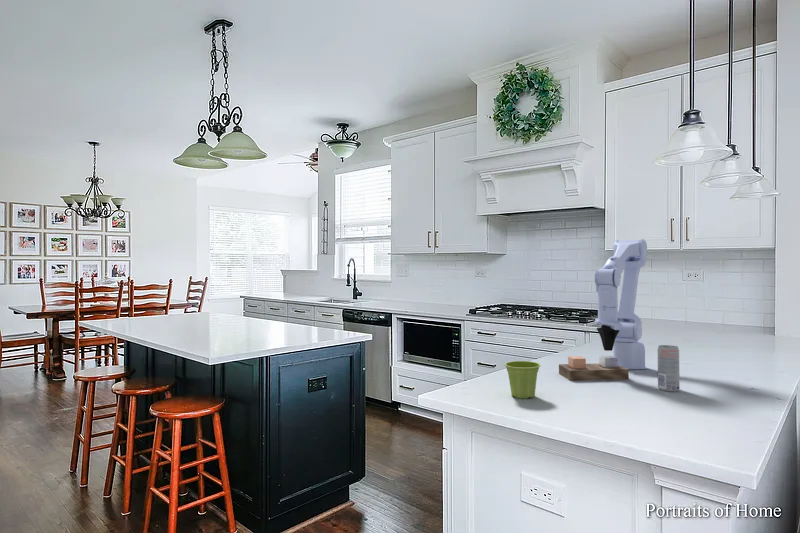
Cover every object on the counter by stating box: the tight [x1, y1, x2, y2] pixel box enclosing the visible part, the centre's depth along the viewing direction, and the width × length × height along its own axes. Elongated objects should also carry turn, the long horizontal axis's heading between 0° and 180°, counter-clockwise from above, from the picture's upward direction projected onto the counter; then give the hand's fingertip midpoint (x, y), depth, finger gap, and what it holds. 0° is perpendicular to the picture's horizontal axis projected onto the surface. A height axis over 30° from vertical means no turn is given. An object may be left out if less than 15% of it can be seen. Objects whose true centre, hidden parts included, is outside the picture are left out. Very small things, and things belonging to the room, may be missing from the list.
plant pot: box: [504, 360, 541, 399], centre depth 140 cm, size 9×9×9 cm
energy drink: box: [657, 344, 681, 393], centre depth 145 cm, size 5×5×12 cm
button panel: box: [558, 362, 630, 382], centre depth 162 cm, size 18×10×3 cm, turn 92°
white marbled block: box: [598, 355, 618, 368], centre depth 162 cm, size 4×4×3 cm
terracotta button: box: [567, 355, 587, 369], centre depth 162 cm, size 4×4×3 cm
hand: (608, 350), depth 162 cm, fingers closed
